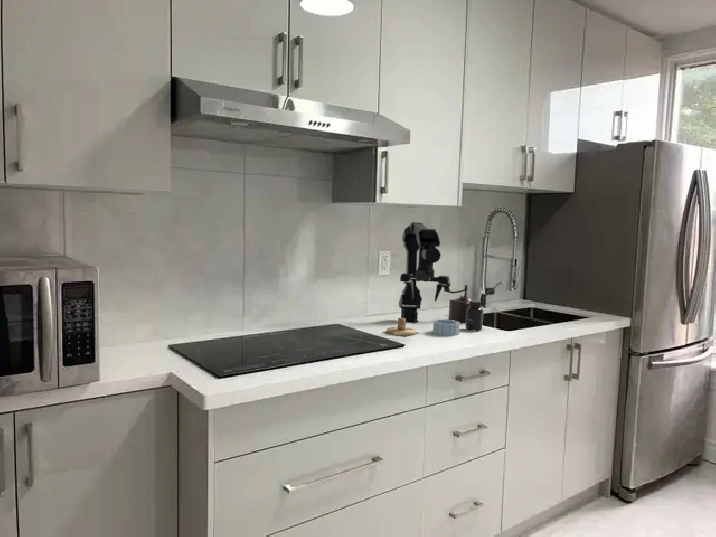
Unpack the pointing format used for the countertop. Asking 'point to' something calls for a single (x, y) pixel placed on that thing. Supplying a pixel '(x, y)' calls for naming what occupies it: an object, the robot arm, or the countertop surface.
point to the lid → (401, 329)
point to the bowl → (446, 327)
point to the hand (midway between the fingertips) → (423, 300)
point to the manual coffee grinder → (458, 305)
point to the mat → (398, 335)
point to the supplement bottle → (474, 316)
